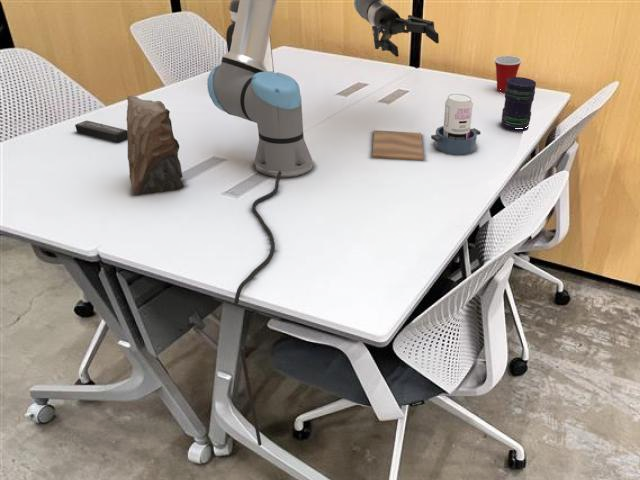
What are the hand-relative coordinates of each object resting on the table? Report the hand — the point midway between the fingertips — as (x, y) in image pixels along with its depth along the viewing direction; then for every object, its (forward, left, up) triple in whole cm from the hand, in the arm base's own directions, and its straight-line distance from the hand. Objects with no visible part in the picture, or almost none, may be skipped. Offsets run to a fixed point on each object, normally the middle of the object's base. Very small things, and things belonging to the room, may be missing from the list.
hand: (417, 45), depth 170 cm
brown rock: (-43, +67, -27) cm, 84 cm away
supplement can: (-7, -13, -27) cm, 31 cm away
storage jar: (+14, -35, -27) cm, 47 cm away
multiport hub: (-13, +90, -27) cm, 94 cm away
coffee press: (+42, +57, -27) cm, 75 cm away
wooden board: (-9, +5, -27) cm, 29 cm away
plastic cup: (+54, -37, -27) cm, 71 cm away
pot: (-7, -13, -27) cm, 31 cm away
